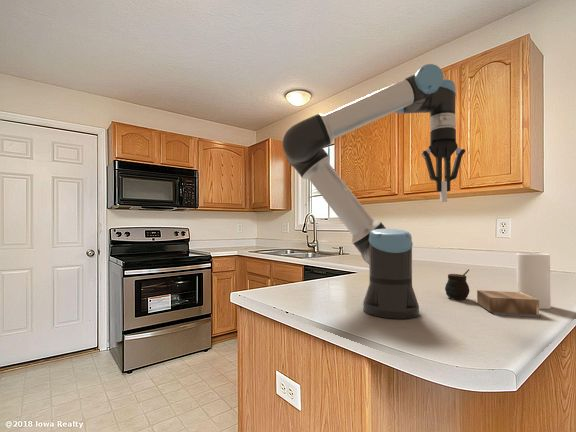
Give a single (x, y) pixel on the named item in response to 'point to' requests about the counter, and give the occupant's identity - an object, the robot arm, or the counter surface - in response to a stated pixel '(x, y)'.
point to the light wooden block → (508, 302)
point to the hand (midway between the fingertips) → (443, 201)
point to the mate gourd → (457, 286)
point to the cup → (534, 277)
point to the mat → (516, 314)
